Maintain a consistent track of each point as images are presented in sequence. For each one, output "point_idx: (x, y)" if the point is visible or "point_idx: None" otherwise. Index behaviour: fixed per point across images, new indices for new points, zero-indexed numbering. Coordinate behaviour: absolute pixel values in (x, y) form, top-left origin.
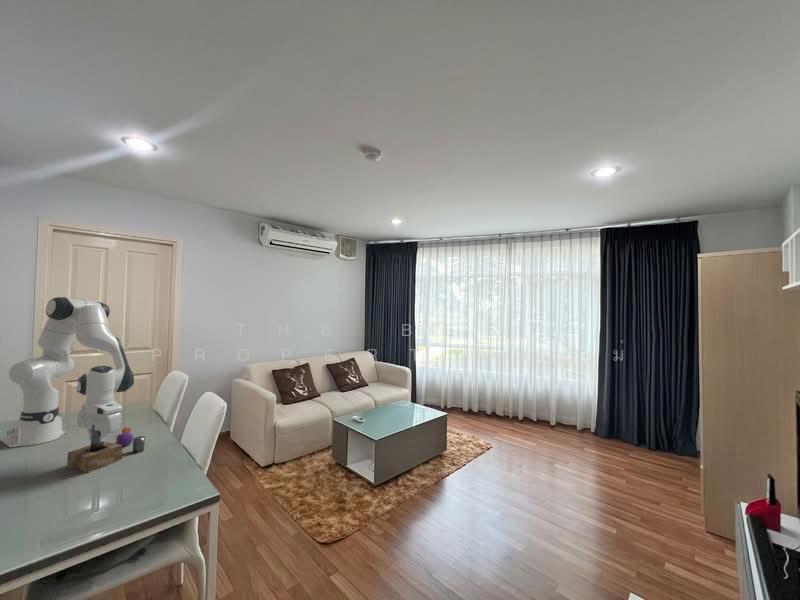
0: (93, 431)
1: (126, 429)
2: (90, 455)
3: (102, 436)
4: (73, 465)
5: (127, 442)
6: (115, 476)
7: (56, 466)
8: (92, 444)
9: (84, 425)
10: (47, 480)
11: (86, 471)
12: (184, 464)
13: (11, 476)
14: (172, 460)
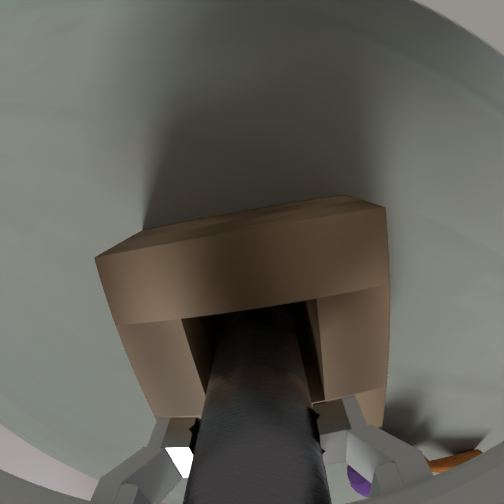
0: (221, 495)
1: None
2: (126, 282)
3: (135, 460)
4: (283, 207)
5: (348, 465)
6: (19, 285)
7: (414, 172)
8: (235, 368)
9: (487, 489)
10: (229, 67)
11: (149, 230)
12: (5, 420)
13: (442, 26)
14: (47, 435)
